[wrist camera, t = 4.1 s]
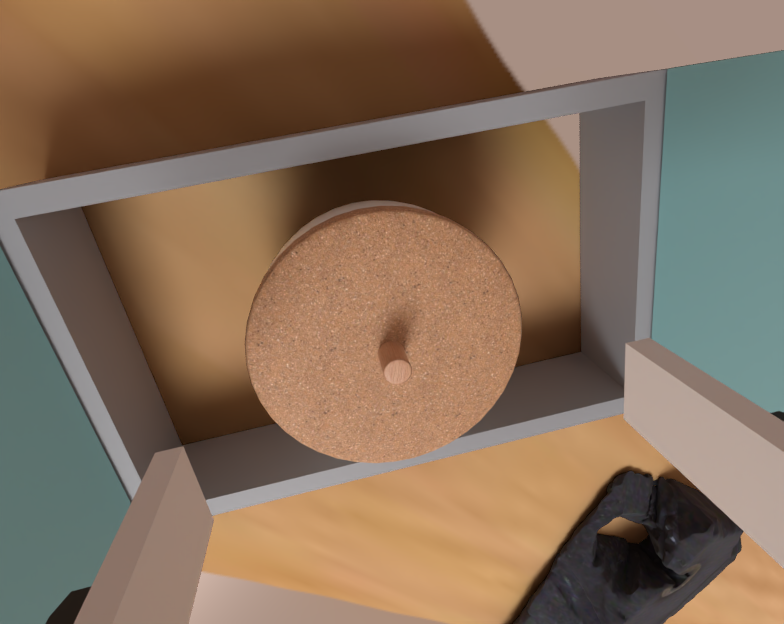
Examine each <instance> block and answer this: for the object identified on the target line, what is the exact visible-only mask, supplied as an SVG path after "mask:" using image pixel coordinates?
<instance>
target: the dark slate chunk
mask: <svg viewBox="0 0 784 624" xmlns="http://www.w3.org/2000/svg"><path fill="white" fill-rule="evenodd" d="M654 485H656V486H654ZM607 492H608V494H607V495H606V496H605V497H604V498H603V499H602V500H601V502H600V503H599V505H598V506H597V507H596V508H595V509H594V510H593V511H592V512H591V513H590V514H589V515H588V516H587V517H586V519H585V520H584V521H583V522H582V523H581V524H580V525H579V526H578V527H577V528H576V530H575V531H574V533H573V535H572V537H571V538H570V540H569V541H568V542H567V543H566V544H565V545H564V546H563V548H562V550H561V553H558V554H557V556H556V558H555V560H554V562H553V565H552V568H551V570H550V572H549V574H548V576H547V578H546V579H545V580H544V581H543V582H542V583H541V585H540V586H539V588H538V589H537V591H536V592H535V594H533V595H532V596H531V597H530V599H529V601H528V604H527V606H526V607H525V608H524V609H523V611H522V613H521V615H520V616H519V617H518V618H517V619H516V620H515V622H514V623H513V624H663V623H664V622H665V621H666V620H667V619H668V618H669V617H671V616H673V615H675V614H676V613H677V612H678V611H679V610H680V609H682V608H683V607H684V605H685V604H686V603H688V602H689V601H690V600H692V599H693V598H694V597H695V596H696V595H697V594H698V593H699V592H700V591H702V590H703V589H704V588H705V587H706V586H707V585H708V584H709V583H710V582H711V581H712V580H714V579H715V578H716V577H717V575H718V574H720V573H721V572H722V571H723V570H724V569H725V568H726V567H727V566H728V565H729V564H730V563H732V562H733V561H734V560H735V558H736V556H737V554H738V553H739V552H740V551H741V548H742V546H741V538H740V536H741V535H742V533H743V530H742V529H741V528H740V527H739V526H738V525H737V524H735V523H734V522H733V521H732V520H731V519H730V518H729V517H728V516H727V515H726V514H725V513H724V512H723V511H722V510H721V509H719V508H718V507H717V506H716V505H715V504H714V503H713V502H712V501H711V500H710V499H709V498H708V497H707V496H706V495H704V494H703V493H701V492H699V491H698V490H696V489H693V488H690V487H689V486H686V485H684V484H682V483H680V482H678V481H676V480H673V479H667V480H665V478H663V477H660V478H659V479H658V480H655V481H653V477H652V476H650V475H648V474H645V475H641V474H639V473H637V474H634V472H633V471H629V472H626V473H624V474H620V475H618V476H617V477H615V479H614V481H613V482H612V483H611V484H610V485H609V486H608V487H607ZM616 517H623V518H626V519H628V520H630V521H633V522H635V523H640V524H643V525H644V526H645V528H646V530H647V532H648V534H649V535H648V537H647V538H646V539H644V540H643V541H641V542H640V543H639V544H637V543H628V542H627V541H626V539H624V538H621V537H616V536H609V535H601V534H597V531H598V530H599V529H600V528H602V527H603V526H605V525H607V524H608V523H609V522H611V521H612V520H613V519H614V518H616Z"/></svg>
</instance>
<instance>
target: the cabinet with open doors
mask: <svg viewBox="0 0 784 624" xmlns="http://www.w3.org/2000/svg"><path fill="white" fill-rule="evenodd" d="M576 113H580V260H581V352H578V353H574V354H570V355H565V356H561V357H557V358H553V359H548V360H544V361H540V362H535V363H531V364H527V365H523V366H518V367H515V368H514V371H513V373H512V375H511V377H510V379H509V381H508V383H507V385H506V388H505V390H504V391H503V393H502V394H501V396H500V397H499V398H498V400H497V401H496V403H495V404H494V405H493V407H492V408H491V409H490V410H489V411H488V412H487V414H486V415H485V416H484V417H483V418H482V419H481V420H480V421H479V422H478V423H477V424H475V425H474V426H473V427H472V428H471V429H469V430H468V431H467V432H466V433H464V434H463V435H461V436H460V437H458V438H457V439H455V440H454V441H452V442H451V443H449V444H447V445H445V446H443V447H441V448H439V449H436V450H434V451H432V452H429V453H426V454H424V455H421V456H418V457H415V458H411V459H406V460H400V461H395V462H384V463H364V462H354V461H348V460H342V459H337V458H334V457H331V456H329V455H326V454H323V453H320V452H317V451H315V450H313V449H311V448H310V447H308V446H306V445H304V444H302V443H300V442H299V441H297V440H296V439H295V438H293V437H292V436H290V435H289V434H288V433H286V432H285V431H284V430H283V429H282V428H281V427H280V426H279V425H278V424H277V423H275V424H271V425H267V426H262V427H258V428H254V429H250V430H245V431H241V432H237V433H233V434H228V435H224V436H220V437H216V438H211V439H207V440H203V441H198V442H194V443H190V444H186V445H182V444H181V442H180V439H179V437H178V434H177V432H176V430H175V427H174V425H173V423H172V420H171V418H170V416H169V413H168V411H167V409H166V406H165V404H164V401H163V399H162V397H161V394H160V392H159V390H158V387H157V385H156V383H155V380H154V378H153V376H152V373H151V371H150V368H149V366H148V364H147V361H146V359H145V357H144V354H143V352H142V350H141V347H140V345H139V343H138V340H137V338H136V335H135V333H134V331H133V328H132V326H131V324H130V321H129V319H128V317H127V314H126V312H125V310H124V307H123V305H122V302H121V300H120V298H119V295H118V293H117V291H116V288H115V286H114V284H113V281H112V279H111V277H110V274H109V272H108V269H107V267H106V265H105V262H104V260H103V258H102V255H101V253H100V251H99V248H98V246H97V244H96V241H95V239H94V236H93V234H92V232H91V229H90V227H89V225H88V222H87V220H86V218H85V215H84V213H83V211H82V208H81V206H87V205H92V204H97V203H103V202H108V201H113V200H119V199H124V198H129V197H134V196H140V195H145V194H150V193H156V192H161V191H166V190H172V189H177V188H182V187H188V186H193V185H198V184H204V183H209V182H214V181H220V180H225V179H230V178H236V177H241V176H246V175H251V174H257V173H262V172H267V171H273V170H278V169H283V168H289V167H294V166H299V165H305V164H310V163H315V162H321V161H326V160H331V159H337V158H342V157H347V156H353V155H358V154H363V153H369V152H374V151H379V150H384V149H390V148H395V147H400V146H406V145H411V144H416V143H422V142H427V141H432V140H438V139H443V138H448V137H454V136H459V135H464V134H470V133H475V132H480V131H486V130H491V129H496V128H501V127H507V126H512V125H517V124H523V123H528V122H533V121H539V120H544V119H549V118H555V117H560V116H565V115H571V114H576ZM646 338H651V339H652V340H654V341H655V342H657V343H659V344H660V345H662V346H663V347H665V348H667V349H668V350H670V351H671V352H673V353H675V354H676V355H678V356H679V357H681V358H683V359H684V360H686V361H687V362H689V363H691V364H692V365H694V366H695V367H697V368H699V369H700V370H702V371H703V372H705V373H707V374H708V375H710V376H711V377H713V378H715V379H716V380H718V381H719V382H721V383H723V384H724V385H726V386H727V387H729V388H731V389H732V390H734V391H736V392H737V393H739V394H740V395H742V396H744V397H745V398H747V399H748V400H750V401H752V402H753V403H755V404H756V405H758V406H760V407H761V408H763V409H764V410H766V411H768V412H769V413H772V412H776V411H781V412H784V50H781V51H775V52H769V53H763V54H756V55H750V56H743V57H737V58H731V59H724V60H718V61H712V62H706V63H699V64H693V65H687V66H681V67H674V68H669V69H662V70H654V71H647V72H641V73H633V74H626V75H619V76H612V77H604V78H598V79H592V80H587V81H581V82H576V83H570V84H565V85H560V86H554V87H548V88H543V89H537V90H532V91H526V92H521V93H515V94H510V95H504V96H499V97H493V98H488V99H482V100H477V101H471V102H466V103H460V104H455V105H449V106H444V107H438V108H433V109H427V110H422V111H416V112H411V113H405V114H400V115H394V116H389V117H383V118H378V119H372V120H367V121H361V122H356V123H350V124H345V125H339V126H334V127H328V128H323V129H317V130H312V131H306V132H301V133H295V134H290V135H284V136H279V137H273V138H268V139H262V140H257V141H251V142H246V143H240V144H235V145H229V146H224V147H218V148H213V149H207V150H202V151H196V152H191V153H185V154H180V155H174V156H169V157H163V158H158V159H153V160H147V161H142V162H136V163H131V164H125V165H120V166H114V167H109V168H103V169H98V170H92V171H87V172H81V173H76V174H70V175H65V176H59V177H54V178H48V179H43V180H38V181H34V182H30V183H25V184H21V185H17V186H12V187H8V188H4V189H0V624H46V622H47V620H48V618H49V616H50V615H51V614H52V613H53V612H54V611H55V609H56V608H57V607H58V606H59V605H60V604H61V603H62V601H63V600H64V599H65V598H66V597H67V596H68V594H69V593H70V592H71V591H75V590H79V589H83V588H87V587H91V586H92V584H93V582H94V580H95V578H96V576H97V574H98V572H99V569H100V567H101V565H102V563H103V561H104V559H105V557H106V555H107V553H108V551H109V549H110V546H111V544H112V542H113V540H114V538H115V536H116V534H117V532H118V530H119V528H120V525H121V523H122V521H123V519H124V517H125V515H126V513H127V511H128V509H129V507H130V504H131V502H132V500H133V498H134V496H135V494H136V492H137V490H138V488H139V486H140V483H141V481H142V479H143V477H144V475H145V473H146V471H147V469H148V467H149V465H150V462H151V460H152V458H153V456H154V454H155V453H156V452H161V451H165V450H169V449H173V448H178V447H182V446H183V447H184V449H185V452H186V454H187V457H188V459H189V461H190V464H191V466H192V469H193V471H194V473H195V476H196V478H197V481H198V483H199V485H200V488H201V490H202V493H203V495H204V498H205V500H206V502H207V505H208V507H209V510H210V512H211V514H212V516H213V515H217V514H221V513H225V512H229V511H233V510H237V509H241V508H245V507H249V506H253V505H257V504H261V503H265V502H269V501H273V500H277V499H281V498H285V497H289V496H293V495H297V494H301V493H305V492H309V491H313V490H317V489H321V488H326V487H330V486H334V485H338V484H342V483H346V482H350V481H354V480H358V479H362V478H366V477H370V476H374V475H378V474H382V473H386V472H390V471H394V470H398V469H402V468H406V467H410V466H414V465H418V464H422V463H426V462H430V461H434V460H438V459H442V458H446V457H450V456H454V455H458V454H462V453H466V452H470V451H474V450H478V449H482V448H487V447H491V446H495V445H499V444H503V443H507V442H511V441H515V440H519V439H523V438H527V437H531V436H535V435H539V434H543V433H547V432H551V431H555V430H559V429H563V428H567V427H571V426H575V425H579V424H583V423H587V422H591V421H595V420H599V419H603V418H607V417H611V416H615V415H619V414H623V413H624V384H625V345H626V343H629V342H633V341H637V340H642V339H646Z"/></svg>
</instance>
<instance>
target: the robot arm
mask: <svg viewBox="0 0 784 624" xmlns="http://www.w3.org/2000/svg"><path fill="white" fill-rule="evenodd" d="M624 420H625V421H626V422H627V423H628V424H630V425H631V426H632V427H633V428H634V429H635V430H636V431H637V432H638V433H639V434H640V435H641V436H642V437H643V438H645V439H646V440H647V441H648V442H649V443H650V444H651V445H652V446H653V447H654V448H655V449H656V450H657V451H658V452H660V453H661V454H662V455H663V456H664V457H665V458H666V459H667V460H668V461H669V462H670V463H671V464H672V465H673V466H674V467H676V468H677V469H678V470H679V471H680V472H681V473H682V474H683V475H684V476H685V477H686V478H687V479H688V480H689V481H691V482H692V483H693V484H694V485H695V486H696V487H697V488H698V489H699V490H700V491H701V492H702V493H703V494H704V495H706V496H707V497H708V498H709V499H710V500H711V501H712V502H713V503H714V504H715V505H716V506H717V507H718V508H719V509H721V510H722V511H723V512H724V513H725V514H726V515H727V516H728V517H729V518H730V519H731V520H732V521H733V522H734V523H735V524H737V525H738V526H739V527H740V528H741V529H742V530H743V531H744V532H745V533H746V534H747V535H748V536H749V537H750V538H752V539H753V540H754V541H755V542H756V543H757V544H758V545H759V546H760V547H761V548H762V549H763V550H764V551H765V552H767V553H768V554H769V555H770V556H771V557H772V558H773V559H774V560H775V561H776V562H777V563H778V564H779V565H780V566H782V567H783V568H784V412H781V411H776V412H772V413H769V412H768V411H766V410H764V409H763V408H761V407H760V406H758V405H756V404H755V403H753V402H752V401H750V400H748V399H747V398H745V397H744V396H742V395H740V394H739V393H737V392H736V391H734V390H732V389H731V388H729V387H727V386H726V385H724V384H723V383H721V382H719V381H718V380H716V379H715V378H713V377H711V376H710V375H708V374H707V373H705V372H703V371H702V370H700V369H699V368H697V367H695V366H694V365H692V364H691V363H689V362H687V361H686V360H684V359H683V358H681V357H679V356H678V355H676V354H675V353H673V352H671V351H670V350H668V349H667V348H665V347H663V346H662V345H660V344H659V343H657V342H655V341H654V340H652V339H651V338H646V339H642V340H637V341H633V342H629V343H626V345H625V384H624ZM213 522H214V519H213V517H212V514H211V512H210V510H209V507H208V505H207V502H206V500H205V498H204V495H203V493H202V490H201V488H200V485H199V483H198V481H197V478H196V476H195V473H194V471H193V469H192V466H191V464H190V461H189V459H188V457H187V454H186V452H185V449H184V447H183V446H182V447H178V448H173V449H169V450H165V451H161V452H156V453H155V454H154V456H153V458H152V460H151V462H150V465H149V467H148V469H147V471H146V473H145V475H144V477H143V479H142V481H141V483H140V486H139V488H138V490H137V492H136V494H135V496H134V498H133V500H132V502H131V504H130V507H129V509H128V511H127V513H126V515H125V517H124V519H123V521H122V523H121V525H120V528H119V530H118V532H117V534H116V536H115V538H114V540H113V542H112V544H111V546H110V549H109V551H108V553H107V555H106V557H105V559H104V561H103V563H102V565H101V567H100V569H99V572H98V574H97V576H96V578H95V580H94V582H93V584H92V586H91V587H87V588H83V589H79V590H75V591H71V592H70V593H69V594H68V596H67V597H66V598H65V599H64V600H63V601H62V603H61V604H60V605H59V606H58V607H57V608H56V609H55V611H54V612H53V613H52V614H51V615H50V616H49V618H48V620H47V622H46V624H188V623H189V619H190V615H191V611H192V607H193V603H194V599H195V595H196V591H197V587H198V583H199V579H200V575H201V571H202V566H203V562H204V558H205V554H206V550H207V546H208V542H209V538H210V534H211V530H212V526H213Z"/></svg>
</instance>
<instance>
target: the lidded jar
mask: <svg viewBox="0 0 784 624" xmlns="http://www.w3.org/2000/svg"><path fill="white" fill-rule="evenodd" d="M521 337H522V315H521V309H520V304H519V298H518V295H517V292H516V289H515V286H514V284H513V281H512V278H511V277H510V275H509V273H508V271H507V270H506V268H505V266H504V265H503V263H502V261H501V260H500V259H499V258H498V256H497V255H496V254H495V253H494V252H493V251H492V249H491V248H490V247H489V246H488V245H487V244H486V243H485V242H483V241H482V240H481V239H480V238H478V237H477V236H476V235H475V234H474V233H472V232H471V231H470V230H468V229H467V228H465V227H463V226H461V225H460V224H458V223H456V222H454V221H453V220H451V219H449V218H447V217H444V216H441V215H439V214H436V213H434V212H432V211H430V210H427V209H424V208H421V207H418V206H416V205H412V204H407V203H401V202H396V201H385V200H369V201H362V202H355V203H350V204H347V205H344V206H341V207H337V208H334V209H332V210H330V211H328V212H326V213H324V214H322V215H320V216H318V217H316V218H315V219H313V220H312V221H310V222H309V223H308V224H306V225H305V226H303V227H302V228H301V229H300V230H299V231H298V232H297V233H296V234H295V235H294V236H293V237H292V238H291V239H290V240H289V241H288V242H287V243H286V244H285V245H284V246H283V247H282V249H281V250H280V252H279V253H278V254H277V256H276V257H275V259H274V260H273V261H272V263H271V265H270V267H269V269H268V271H267V273H266V274H265V276H264V278H263V280H262V282H261V284H260V286H259V288H258V290H257V292H256V294H255V296H254V299H253V303H252V306H251V310H250V313H249V317H248V320H247V327H246V337H245V353H246V365H247V368H248V372H249V376H250V380H251V383H252V386H253V388H254V390H255V392H256V394H257V396H258V399H259V401H260V402H261V404H262V405H263V407H264V408H265V410H266V411H267V412H268V414H269V415H270V417H271V418H272V419H273V420H274V421H275V422H276V423H277V424H278V425H279V426H280V427H281V428H282V429H283V430H284V431H285V432H286V433H288V434H289V435H290V436H292V437H293V438H295V439H296V440H297V441H299V442H300V443H302V444H304V445H306V446H308V447H310V448H311V449H313V450H315V451H317V452H320V453H323V454H326V455H329V456H331V457H334V458H337V459H342V460H348V461H354V462H364V463H384V462H395V461H400V460H406V459H411V458H415V457H418V456H421V455H424V454H426V453H429V452H432V451H434V450H436V449H439V448H441V447H443V446H445V445H447V444H449V443H451V442H452V441H454V440H455V439H457V438H458V437H460V436H461V435H463V434H464V433H466V432H467V431H468V430H469V429H471V428H472V427H473V426H474V425H475V424H477V423H478V422H479V421H480V420H481V419H482V418H483V417H484V416H485V415H486V414H487V412H488V411H489V410H490V409H491V408H492V407H493V405H494V404H495V403H496V401H497V400H498V398H499V397H500V396H501V394H502V393H503V391H504V390H505V388H506V385H507V383H508V381H509V379H510V377H511V375H512V373H513V371H514V368H515V365H516V361H517V358H518V355H519V350H520V344H521Z"/></svg>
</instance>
